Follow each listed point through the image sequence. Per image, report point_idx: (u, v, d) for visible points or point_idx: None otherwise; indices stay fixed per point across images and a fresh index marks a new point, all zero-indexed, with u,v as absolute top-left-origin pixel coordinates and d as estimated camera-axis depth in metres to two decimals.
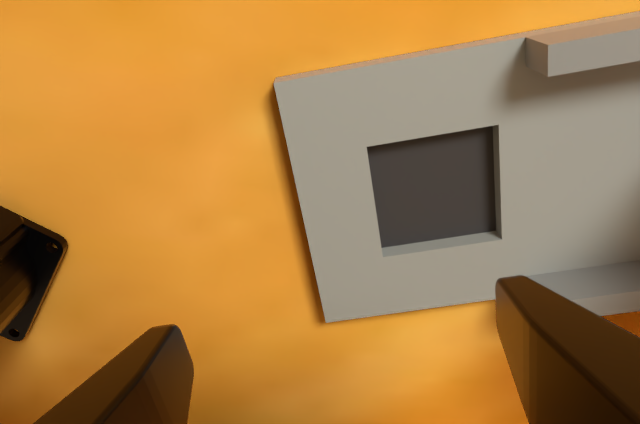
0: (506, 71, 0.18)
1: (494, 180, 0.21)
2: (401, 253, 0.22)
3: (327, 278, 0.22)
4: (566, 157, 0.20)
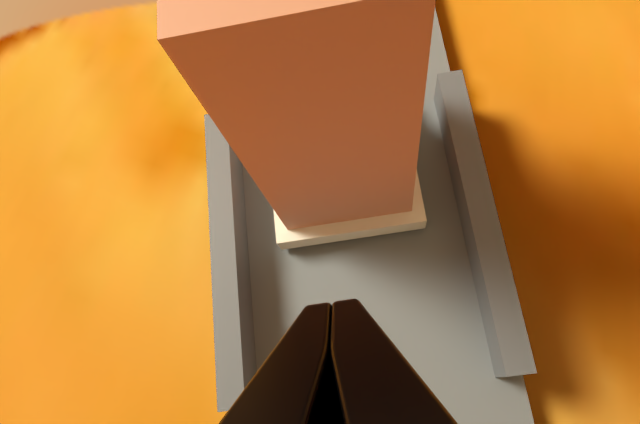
0: None
1: None
2: None
3: None
4: None
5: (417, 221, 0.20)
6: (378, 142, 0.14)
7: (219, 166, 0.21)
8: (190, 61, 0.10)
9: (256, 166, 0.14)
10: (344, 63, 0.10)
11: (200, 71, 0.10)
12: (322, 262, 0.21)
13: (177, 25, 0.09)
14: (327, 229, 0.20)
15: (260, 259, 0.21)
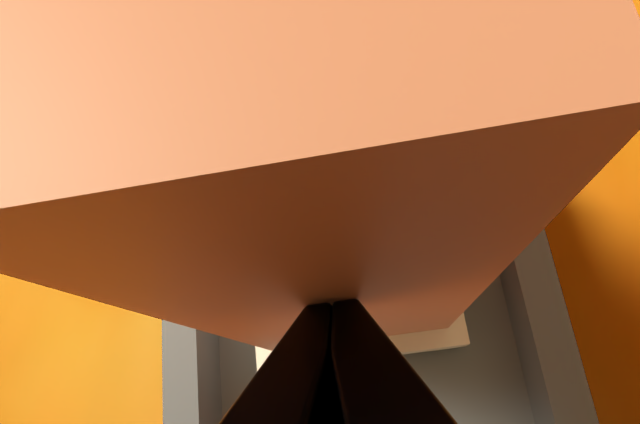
0: None
1: None
2: None
3: None
4: None
5: (456, 344, 0.14)
6: (416, 294, 0.08)
7: None
8: None
9: (210, 325, 0.09)
10: (369, 231, 0.05)
11: (31, 263, 0.04)
12: None
13: None
14: None
15: (237, 397, 0.15)
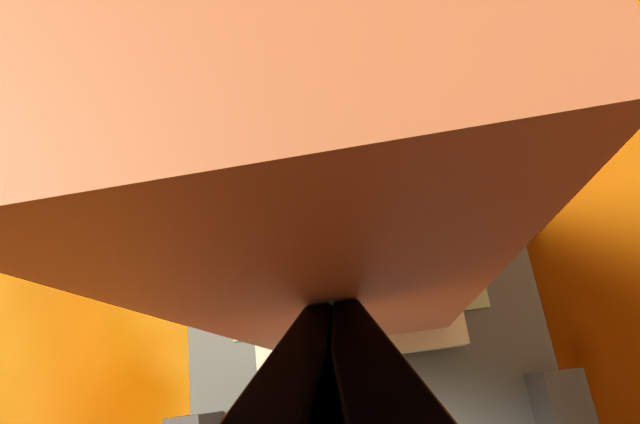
0: None
1: None
2: None
3: None
4: None
5: (455, 343, 0.14)
6: (416, 293, 0.08)
7: None
8: None
9: (209, 324, 0.09)
10: (369, 229, 0.05)
11: (28, 262, 0.04)
12: None
13: None
14: None
15: None
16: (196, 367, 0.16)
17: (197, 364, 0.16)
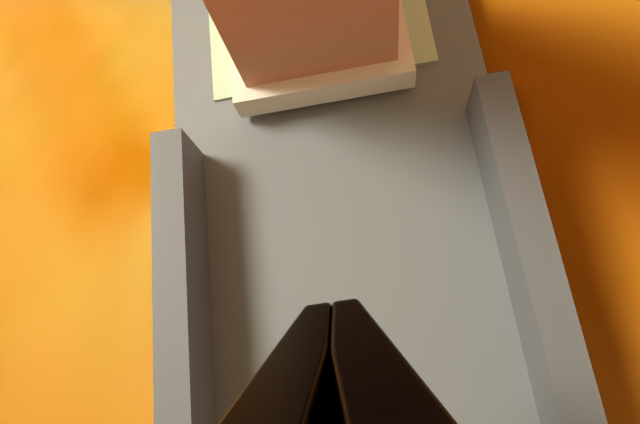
0: None
1: None
2: None
3: None
4: None
5: (404, 71, 0.16)
6: None
7: (168, 207, 0.15)
8: None
9: None
10: None
11: None
12: None
13: None
14: (294, 84, 0.16)
15: (228, 333, 0.16)
16: (181, 123, 0.18)
17: (182, 120, 0.18)
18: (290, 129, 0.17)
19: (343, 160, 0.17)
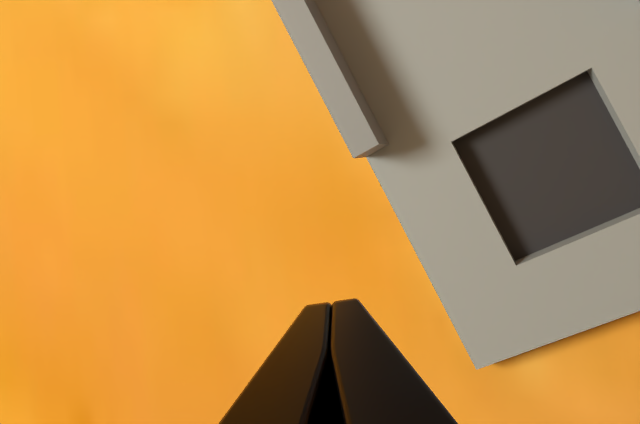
0: (399, 159, 0.19)
1: (519, 106, 0.18)
2: None
3: None
4: (464, 53, 0.18)
5: None
6: None
7: None
8: None
9: None
10: None
11: None
12: None
13: None
14: None
15: None
16: None
17: None
18: None
19: None
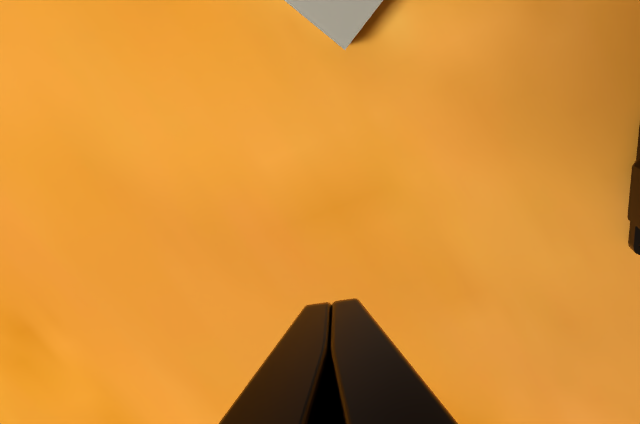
0: None
1: None
2: None
3: None
4: None
5: None
6: None
7: None
8: None
9: None
10: None
11: None
12: None
13: None
14: None
15: None
16: None
17: None
18: None
19: None
